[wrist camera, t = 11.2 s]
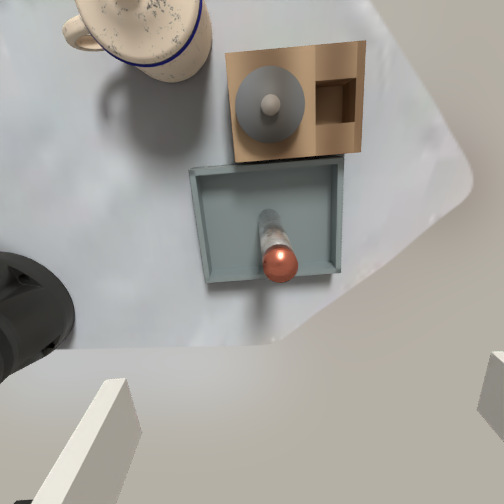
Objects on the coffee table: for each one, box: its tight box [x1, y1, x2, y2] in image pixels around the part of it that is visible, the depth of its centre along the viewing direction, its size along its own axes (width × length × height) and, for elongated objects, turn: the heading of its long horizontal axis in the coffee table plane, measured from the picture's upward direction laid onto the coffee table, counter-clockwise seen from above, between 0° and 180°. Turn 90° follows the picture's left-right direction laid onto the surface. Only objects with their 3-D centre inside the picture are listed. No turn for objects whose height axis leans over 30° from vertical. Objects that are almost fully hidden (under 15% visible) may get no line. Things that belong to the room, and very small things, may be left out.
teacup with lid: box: [62, 0, 212, 82], centre depth 24 cm, size 12×9×12 cm
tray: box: [189, 156, 344, 283], centre depth 34 cm, size 16×13×3 cm
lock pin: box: [258, 209, 298, 283], centre depth 29 cm, size 3×3×14 cm
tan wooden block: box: [225, 40, 366, 163], centre depth 28 cm, size 12×9×7 cm
